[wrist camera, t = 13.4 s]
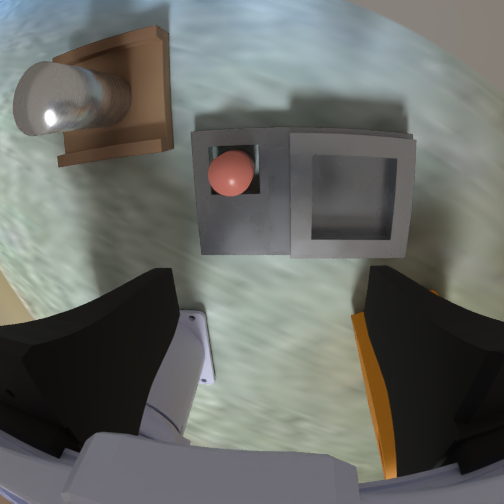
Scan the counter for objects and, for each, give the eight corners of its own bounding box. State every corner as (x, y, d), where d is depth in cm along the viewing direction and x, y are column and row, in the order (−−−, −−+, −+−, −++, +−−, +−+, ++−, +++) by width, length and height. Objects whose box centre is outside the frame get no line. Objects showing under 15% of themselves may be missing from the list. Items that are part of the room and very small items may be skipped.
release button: (218, 187, 19) (209, 196, 17) (215, 150, 18) (206, 154, 16) (256, 186, 19) (252, 195, 17) (254, 148, 18) (250, 152, 16)
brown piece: (76, 162, 20) (58, 167, 18) (70, 61, 16) (52, 58, 14) (173, 148, 19) (161, 152, 17) (168, 33, 16) (156, 25, 14)
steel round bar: (91, 134, 18) (18, 146, 11) (82, 86, 16) (9, 82, 10) (136, 117, 17) (69, 119, 11) (126, 66, 16) (59, 48, 9)
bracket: (434, 371, 25) (474, 470, 14) (366, 394, 26) (386, 502, 15) (434, 281, 21) (510, 391, 10) (348, 309, 23) (384, 443, 12)
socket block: (204, 248, 22) (197, 262, 20) (195, 131, 18) (185, 132, 16) (397, 248, 20) (408, 262, 18) (406, 133, 17) (420, 135, 15)
